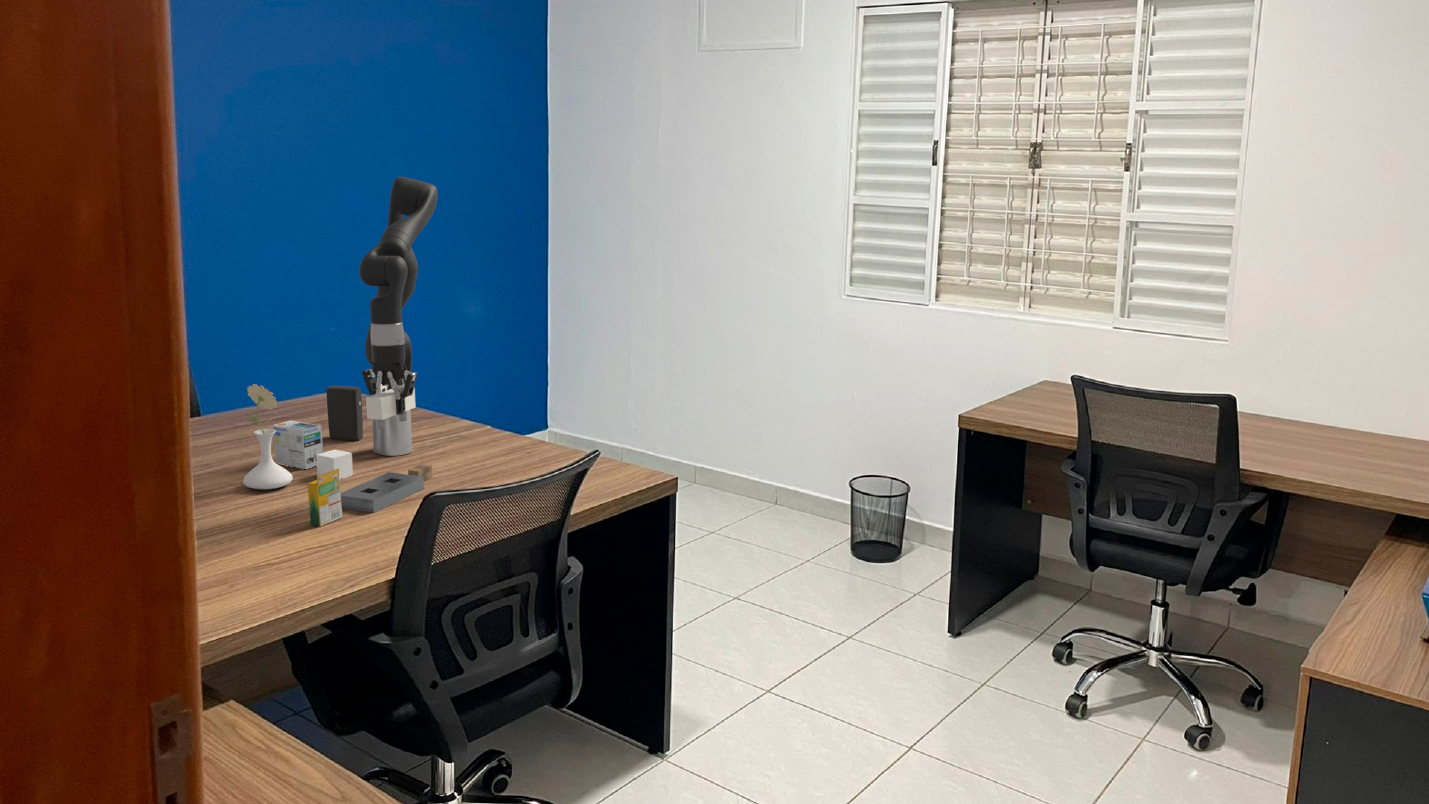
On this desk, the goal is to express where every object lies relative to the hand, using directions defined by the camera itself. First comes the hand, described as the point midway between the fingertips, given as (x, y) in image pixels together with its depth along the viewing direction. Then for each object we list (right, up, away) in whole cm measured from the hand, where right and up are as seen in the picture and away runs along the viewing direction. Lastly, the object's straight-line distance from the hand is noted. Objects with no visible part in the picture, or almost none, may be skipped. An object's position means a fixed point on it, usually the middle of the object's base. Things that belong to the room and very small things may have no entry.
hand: (391, 413), depth 271 cm
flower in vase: (-33, -18, +9) cm, 39 cm away
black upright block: (-27, -8, +53) cm, 60 cm away
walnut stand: (+3, -17, +16) cm, 24 cm away
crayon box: (-10, -24, -15) cm, 30 cm away
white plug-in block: (0, -3, +1) cm, 3 cm away
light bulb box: (-32, -14, +27) cm, 44 cm away
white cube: (-19, -16, +18) cm, 31 cm away
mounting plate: (-3, -20, +2) cm, 20 cm away
